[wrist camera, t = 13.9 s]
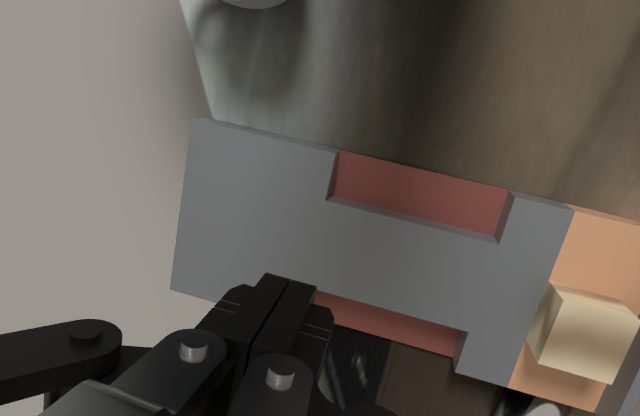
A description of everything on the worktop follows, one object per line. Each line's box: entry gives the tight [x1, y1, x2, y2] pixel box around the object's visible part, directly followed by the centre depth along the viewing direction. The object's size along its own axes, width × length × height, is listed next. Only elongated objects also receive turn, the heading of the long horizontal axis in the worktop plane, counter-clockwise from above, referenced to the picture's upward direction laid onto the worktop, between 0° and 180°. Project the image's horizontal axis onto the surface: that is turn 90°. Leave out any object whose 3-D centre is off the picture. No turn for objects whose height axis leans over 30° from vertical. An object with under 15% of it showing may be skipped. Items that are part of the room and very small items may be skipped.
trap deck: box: [170, 117, 640, 416], centre depth 42 cm, size 18×44×6 cm, turn 78°
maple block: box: [526, 281, 640, 385], centre depth 39 cm, size 6×6×4 cm
